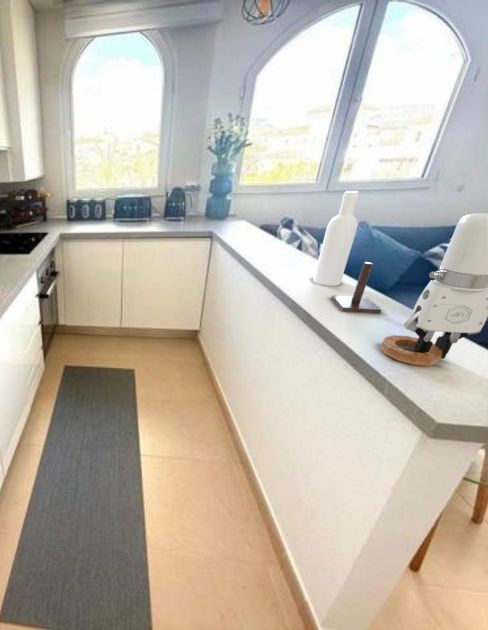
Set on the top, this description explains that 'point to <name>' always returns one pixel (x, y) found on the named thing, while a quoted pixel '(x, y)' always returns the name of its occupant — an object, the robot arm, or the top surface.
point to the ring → (393, 350)
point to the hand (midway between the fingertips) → (429, 354)
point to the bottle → (337, 243)
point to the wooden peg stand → (358, 295)
